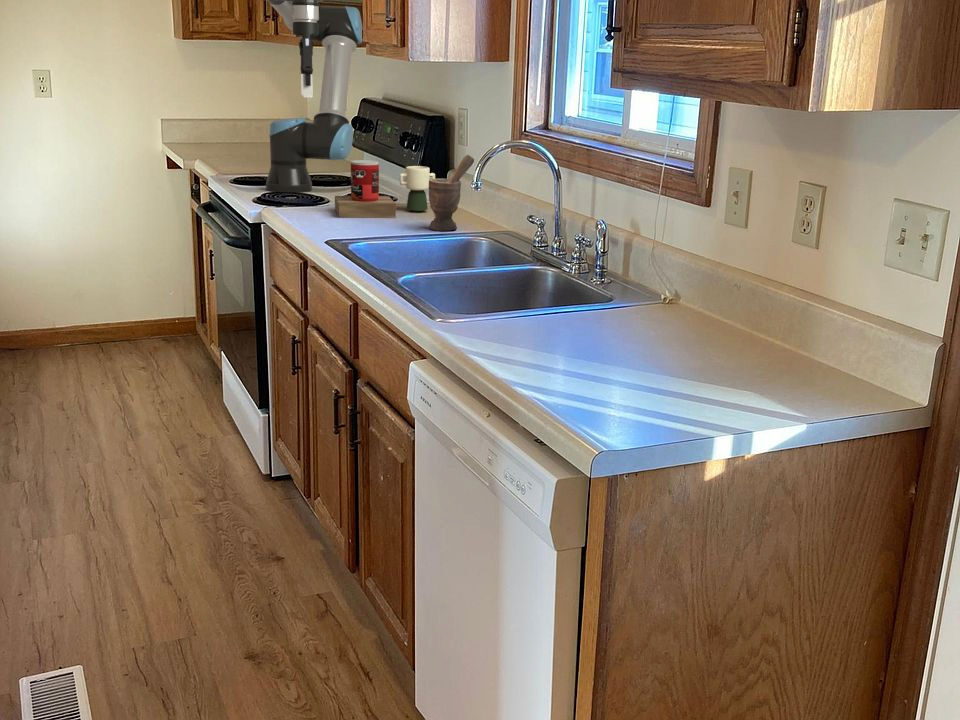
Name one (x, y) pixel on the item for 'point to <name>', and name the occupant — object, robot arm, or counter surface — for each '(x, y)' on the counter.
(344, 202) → the walnut base
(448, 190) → the mortar and pestle
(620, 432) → the counter surface
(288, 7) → the robot arm
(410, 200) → the character mug
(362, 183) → the canned food
